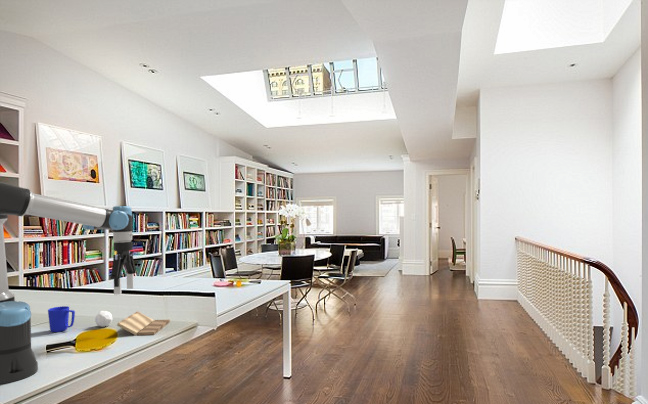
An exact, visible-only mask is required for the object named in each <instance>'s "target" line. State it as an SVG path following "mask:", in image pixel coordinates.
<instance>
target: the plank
mask: <svg viewBox="0 0 648 404" xmlns="http://www.w3.org/2000/svg"><path fill="white" fill-rule="evenodd" d="M153 321H155V319H153V318H151V317H149V316H147V315H145V314H143V313H142V312H140V311H138V310H137V311H135V312H133V313H132V314H130V315H129V316H127V317H126V318H124V319H122V320H120V321H118V322H117V324H116V326H117V327H119V328H121V329H123V330H125V331H127V332H129V333H130V334H132V335H134V336H138V335H137V334H138V332H140V331H141V330H142V329H144V328H145V327H146V326H148V325H149V324H151V323H152V322H153Z"/></svg>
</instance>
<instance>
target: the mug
mask: <svg viewBox="0 0 648 404" xmlns="http://www.w3.org/2000/svg"><path fill="white" fill-rule="evenodd" d="M70 313H71V320H69V319H70ZM75 314H76V311H75V310H74V309H70V306H67V305H66V306H64V305H63V306H56V307H55V306H54V307H51V308H49V309H47V315H48V323H49V329H50V332H53V333H59V332H64V331H66V330H68V328H71V327H73V326H74V323H75V318H76V317H75V316H76V315H75ZM69 321H70V325H69Z"/></svg>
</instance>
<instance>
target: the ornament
mask: <svg viewBox="0 0 648 404" xmlns="http://www.w3.org/2000/svg"><path fill="white" fill-rule="evenodd" d="M94 320H95V323H96V325H97V326H98V327H101V328H105V326H106V327H108V326H109V325H110V324H112V322H113V315H112V313H111V312H109V311H107V310H101V311H100V312H99V313H97V314H96V316H95V318H94Z"/></svg>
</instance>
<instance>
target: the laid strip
mask: <svg viewBox="0 0 648 404" xmlns="http://www.w3.org/2000/svg"><path fill="white" fill-rule="evenodd" d="M169 323H171V319H154V321H153V322H152V323H151V324H149V325H148V326H146V327H145V328H144V329H142V330H141V331H140V332H138V334H137V335H136V336H150V335H151V336H153V335H157V333H159V331H161V330H162V329H163V328H165V327H166V326H167V325H168V324H169Z"/></svg>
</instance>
